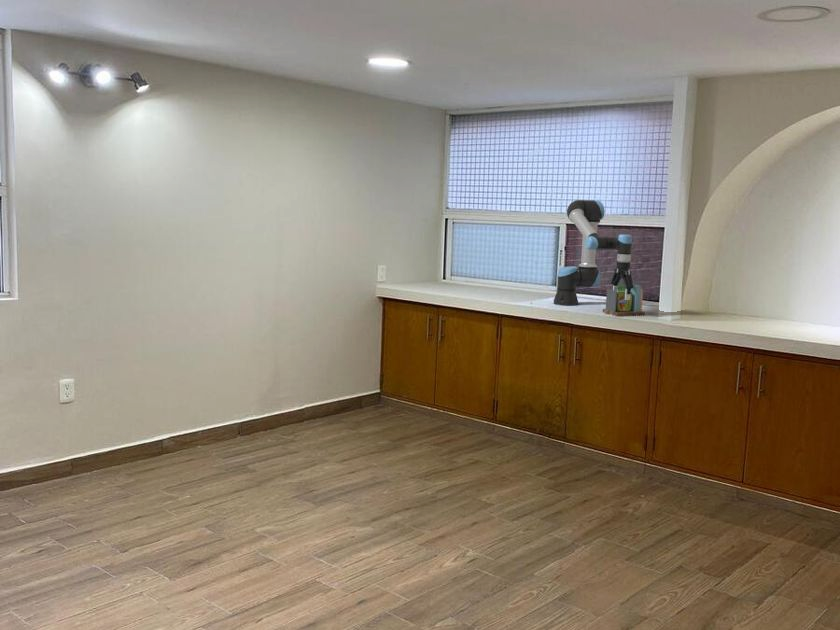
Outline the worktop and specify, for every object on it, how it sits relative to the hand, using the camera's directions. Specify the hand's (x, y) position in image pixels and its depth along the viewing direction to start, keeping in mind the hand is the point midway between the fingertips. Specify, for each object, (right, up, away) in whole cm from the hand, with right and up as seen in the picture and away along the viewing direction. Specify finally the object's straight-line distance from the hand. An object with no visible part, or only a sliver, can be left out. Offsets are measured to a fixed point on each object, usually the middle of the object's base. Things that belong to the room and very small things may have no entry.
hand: (621, 298), depth 464 cm
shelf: (+2, -9, +2) cm, 9 cm away
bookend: (-6, -7, -1) cm, 10 cm away
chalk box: (0, -7, +1) cm, 7 cm away
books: (+8, -7, +3) cm, 11 cm away
